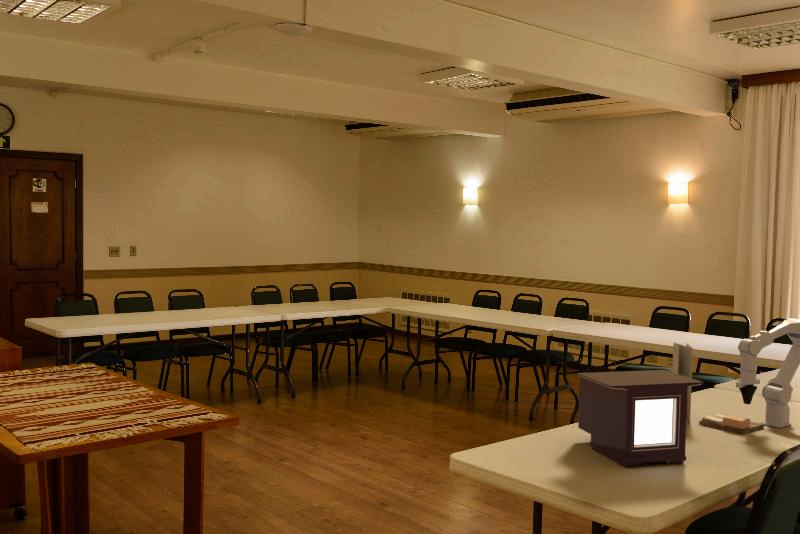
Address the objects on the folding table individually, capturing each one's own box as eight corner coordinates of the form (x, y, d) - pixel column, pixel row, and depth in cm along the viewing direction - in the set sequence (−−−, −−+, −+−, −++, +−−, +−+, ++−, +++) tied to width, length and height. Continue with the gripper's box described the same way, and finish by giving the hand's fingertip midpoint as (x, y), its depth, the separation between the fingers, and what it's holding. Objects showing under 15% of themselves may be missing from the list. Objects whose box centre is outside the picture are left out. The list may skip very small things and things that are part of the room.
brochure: (690, 422, 317) (692, 348, 315) (675, 421, 318) (678, 347, 316) (684, 413, 331) (687, 343, 329) (671, 413, 332) (673, 342, 330)
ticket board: (721, 418, 323) (721, 412, 323) (763, 428, 309) (763, 421, 308) (699, 424, 313) (699, 417, 313) (742, 434, 299) (742, 427, 299)
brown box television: (702, 463, 261) (705, 382, 260) (609, 470, 252) (611, 386, 251) (642, 435, 295) (645, 364, 294) (558, 440, 286) (560, 367, 284)
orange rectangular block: (730, 422, 310) (731, 415, 310) (749, 426, 304) (750, 419, 304) (722, 424, 306) (722, 417, 306) (741, 429, 300) (742, 421, 300)
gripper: (748, 366, 316) (747, 399, 317) (729, 369, 307) (727, 404, 308) (765, 369, 310) (764, 403, 311) (746, 372, 302) (744, 407, 302)
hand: (747, 403), depth 309 cm, fingers closed
